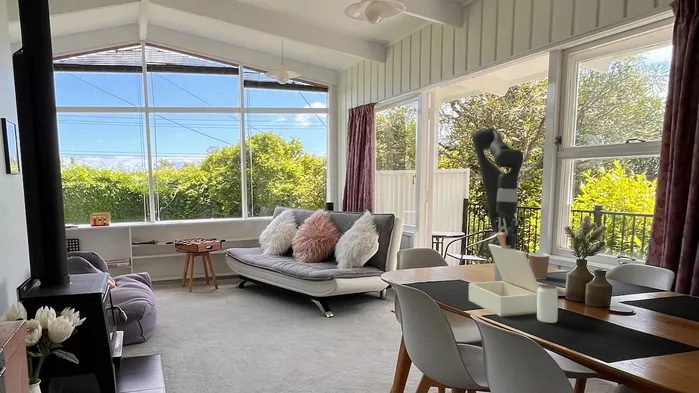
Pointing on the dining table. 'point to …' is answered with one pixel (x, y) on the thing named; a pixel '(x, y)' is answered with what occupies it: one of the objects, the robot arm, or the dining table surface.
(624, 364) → the dining table surface
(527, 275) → the mailer lid
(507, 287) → the box
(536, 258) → the coffee cup
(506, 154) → the robot arm
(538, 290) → the can
